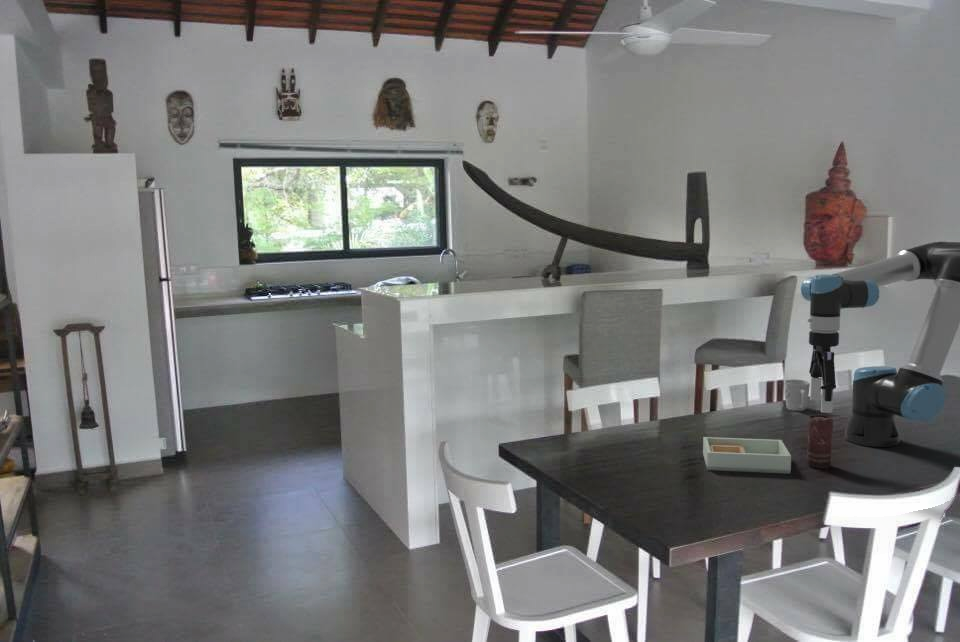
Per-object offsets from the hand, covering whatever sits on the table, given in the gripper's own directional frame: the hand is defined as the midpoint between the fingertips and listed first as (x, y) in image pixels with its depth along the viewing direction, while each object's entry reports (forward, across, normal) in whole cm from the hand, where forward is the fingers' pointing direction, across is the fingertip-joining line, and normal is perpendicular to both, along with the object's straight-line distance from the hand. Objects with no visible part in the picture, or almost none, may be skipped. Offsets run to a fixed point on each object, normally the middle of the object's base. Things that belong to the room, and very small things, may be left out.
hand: (820, 406), depth 208 cm
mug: (+17, -62, +6) cm, 65 cm away
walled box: (+17, 0, -20) cm, 26 cm away
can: (+18, 0, 0) cm, 18 cm away
